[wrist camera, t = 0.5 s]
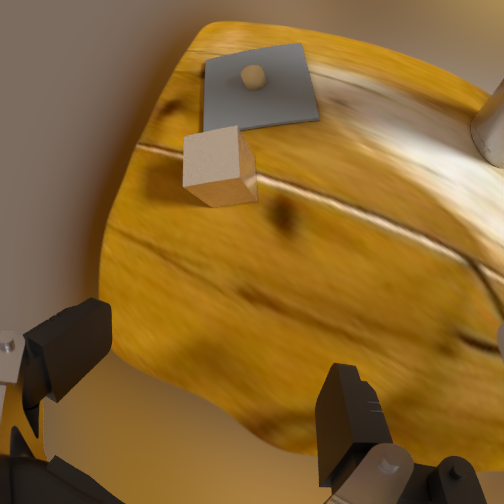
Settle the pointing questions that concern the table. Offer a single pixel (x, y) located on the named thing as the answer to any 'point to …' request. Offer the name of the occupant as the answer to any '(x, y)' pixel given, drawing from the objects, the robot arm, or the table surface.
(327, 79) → the table surface
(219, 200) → the block
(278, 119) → the mat
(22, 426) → the robot arm
